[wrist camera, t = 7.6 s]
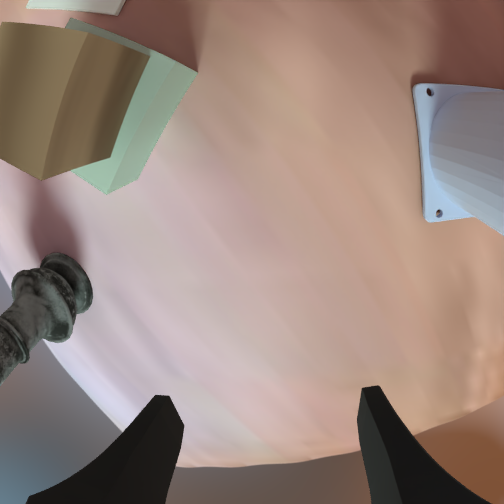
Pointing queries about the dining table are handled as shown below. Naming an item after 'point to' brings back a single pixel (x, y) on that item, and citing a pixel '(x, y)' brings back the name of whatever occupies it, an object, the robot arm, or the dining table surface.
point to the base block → (137, 114)
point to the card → (80, 5)
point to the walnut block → (62, 96)
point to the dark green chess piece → (42, 308)
